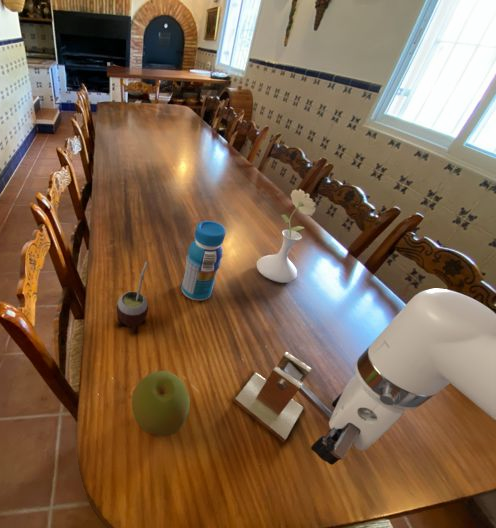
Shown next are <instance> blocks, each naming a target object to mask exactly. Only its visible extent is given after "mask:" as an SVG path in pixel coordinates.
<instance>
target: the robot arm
mask: <svg viewBox="0 0 496 528" xmlns="http://www.w3.org/2000/svg"><path fill="white" fill-rule="evenodd" d="M354 369H355V374H354V375H352V377H351V379H350V380H349V381H348V382H347V384H346V385H345V387H344V389H343V390H342V392H340V394H339V395H337V397H336V398H335V399H334V400H333V401H332V403H331V406H332V407H333V408H334V410H333V411H332V413H333V414H332V416H331V418H330V421H329V422H328V427H329V430H328V431H327V432H326V435H323V434H322V435H321V436H319V438H318V439H317V440H316V441H315V442H314V443H313V444H312V445H311V447H310V450H311V451H312V452H314V453H315V454H316V455H317V456H318V457H319V458H320V459H321V460H323V461H324V462H326V463H328V464H329V465H331V466H332V465H334V464H335V463H337V462H338V461H340V460H344V459H345V457H346V455H348V452H349V450H350V449H351V448H352V447H354V448H355V449H357V450H358V451H359V452H363V451H364V452H365V451H366V450H367V449H369V448H370V447H371V446H372V445H374V443H376V442H377V441H378V440H379V439H380V438H381V437H383V436H384V435H385V433H387V432H388V431H389V430H390V429H391V428H392V427H393V426H394V425H395V423H396V422H397V421H398V420H399V419H400V418H401V416H402V415H403V414H404V413H405V411H406V410H407V411H411V410H415V409H418V408H419V407H421V405H423V404H424V403H426V402H427V401H428V400H430V399H432V397H434V396H435V395H436V394H438V393H439V392H440V391H442V390H443V389H445V388H446V387H447V386H449V385H452V386H453V387H454V388H455V389H457V390H458V391H459V392H460V393H461V394H463V395H464V396H465V397H466V398H467V399H469V400H470V401H471V402H472V403H473V404H475V405H476V406H477V407H478V408H479V409H481V411H483V412H484V413H485V414H487V415H488V416H489V417H490V418H491V419H493V420H494V421H496V313H495V312H494V311H493V310H492V309H491V308H489V307H488V306H486V305H485V304H483V303H481V302H480V301H478V300H477V299H474V298H472V297H470V296H468V295H465V294H463V293H460V292H457V291H455V290H451V289H444V288H430V289H425V290H421V291H420V292H418V293H417V294H415V295H414V296H413V297H411V299H410V300H409V301H408V302H406V304H405V305H404V306H403V308H402V309H401V310H400V311H399V312H398V313H397V314H396V315H395V316H394V318H393V319H392V320H391V321H390V322H389V324H388V325H386V327H385V328H384V329H383V330H382V331H381V332H380V333H379V335H378V336H377V337H376V338H375V339H373V341H372V342H371V343H370V345H369V346H368V347H367V348H366V349H365V350H364V351H363V353H362V354H361V355H360V356H358V358H357V359H356V361H355V363H354ZM343 427H345V428H344V431H343V430H341V428H343ZM335 433H337V434H339V435H340V438H339V439H338V441H337V442H335V441H333V440H332V439H331V438H332V437H333V435H334V434H335Z"/></svg>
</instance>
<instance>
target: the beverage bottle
mask: <svg viewBox="0 0 496 528" xmlns="http://www.w3.org/2000/svg"><path fill="white" fill-rule="evenodd" d="M225 237H226V227H224V226H223V224H221V223H219V222H216V221H213V220H203V221H200V222H198V224H197V225H196V227H195V232H194V239H193V241H192V242H191V243H190V245H189V247H188V252H187V254H186V257H185V269H184V275H183V278H182V282H181V288H180V289H181V292H182V294H183V295H184V296H185V297H186V298H188V299H190V300H192V301H205V300H207V299H209V298H210V297H211V295H212V293H213V288H214V284H215V280H216V277H217V274H218V272H219V269H220V267H221V264H222V258H223V255H224V254H223V252H224V251H223V247H222V244H223V243H224V240H225Z"/></svg>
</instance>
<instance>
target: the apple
mask: <svg viewBox="0 0 496 528" xmlns="http://www.w3.org/2000/svg"><path fill="white" fill-rule="evenodd" d="M190 404H191V397H190V395H189V392H188V390H187V387H186V385H185V382H184V381H183V380H182V379H181V378H180V377H179V376H177V375H176V374H174V373H172V372H170V371H167V370H157V371H153V372H150V373H148V374H147V375H146V376H144V377H143V378H142V379H141V380H139V382H137V384H136V386H135V388H134V389H133V390H132V397H131V410H132V415H133V417H134V420H135V422H136V423H137V424H138V426H139V427H140V428H141V429H142V430H143V431H144V432H146V433H148V434H150V435H152V436H155V437H168V436H172V435H175V434H177V432H178V431H180V429H182V428H183V427H184V424H185V423H186V420H187V418H188V414H189V412H190V408H191V406H190Z"/></svg>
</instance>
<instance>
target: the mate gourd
mask: <svg viewBox="0 0 496 528" xmlns="http://www.w3.org/2000/svg"><path fill="white" fill-rule="evenodd" d="M148 263H149V261H148V260H146V261H145V262H144V265H143V268H142V270H141V273H140V276H139V282H138V288H137V291H134V290H133V291H132V290H131V291H127V292H125V293H123V294H122V295H121V296H120V297H119V299H118V301H117V304H116V318H117V320H118V322H117V325H118V327H124V326H127V327H130V329H131V330H130V331H131V333H132V334H133V335H134V334H137V331H136V327H138V326H139V325H141V324H143V323H144V324H145V322H146V320H145V319H146V318H147V316H148V312H149V305H148V301H147V299H146V298H145V297H144V295H143V294H142V293H141V289H142V285H143V281H144V278H145V272H146V269H147V266H148Z"/></svg>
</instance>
